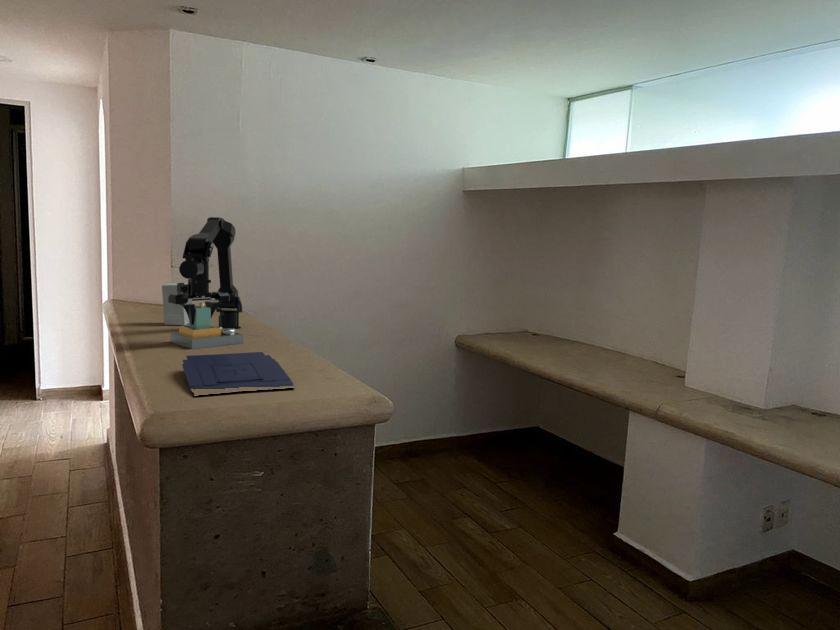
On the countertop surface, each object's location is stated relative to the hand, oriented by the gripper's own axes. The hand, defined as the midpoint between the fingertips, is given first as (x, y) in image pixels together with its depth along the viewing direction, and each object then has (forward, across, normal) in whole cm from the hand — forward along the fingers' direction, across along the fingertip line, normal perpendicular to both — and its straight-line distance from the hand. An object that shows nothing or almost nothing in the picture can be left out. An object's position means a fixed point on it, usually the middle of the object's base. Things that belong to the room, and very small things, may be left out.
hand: (200, 323), depth 213 cm
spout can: (+3, 0, 0) cm, 3 cm away
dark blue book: (+7, +16, +51) cm, 54 cm away
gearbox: (+6, -2, 0) cm, 7 cm away
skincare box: (+7, -12, -41) cm, 43 cm away
